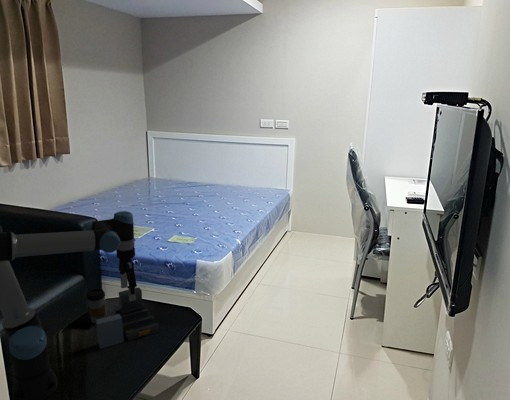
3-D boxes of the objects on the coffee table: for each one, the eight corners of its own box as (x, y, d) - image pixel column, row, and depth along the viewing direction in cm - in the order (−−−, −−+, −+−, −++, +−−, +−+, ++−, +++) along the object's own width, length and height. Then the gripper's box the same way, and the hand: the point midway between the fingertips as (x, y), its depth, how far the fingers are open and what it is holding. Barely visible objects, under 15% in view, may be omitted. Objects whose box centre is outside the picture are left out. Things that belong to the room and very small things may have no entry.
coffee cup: (93, 315, 205) (90, 287, 201) (110, 316, 205) (107, 288, 201) (86, 324, 197) (82, 296, 193) (103, 325, 197) (100, 296, 193)
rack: (128, 341, 185) (126, 314, 181) (115, 315, 206) (112, 290, 202) (159, 332, 192) (157, 305, 188) (143, 307, 213) (141, 283, 209)
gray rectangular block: (100, 349, 179) (97, 324, 176) (98, 344, 183) (95, 319, 180) (123, 341, 184) (121, 317, 181) (121, 337, 188) (119, 313, 185)
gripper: (142, 256, 167) (145, 304, 173) (126, 237, 188) (129, 280, 193) (123, 259, 163) (127, 308, 169) (109, 240, 184) (112, 284, 189)
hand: (128, 293), depth 181 cm, fingers open, 13 cm apart
